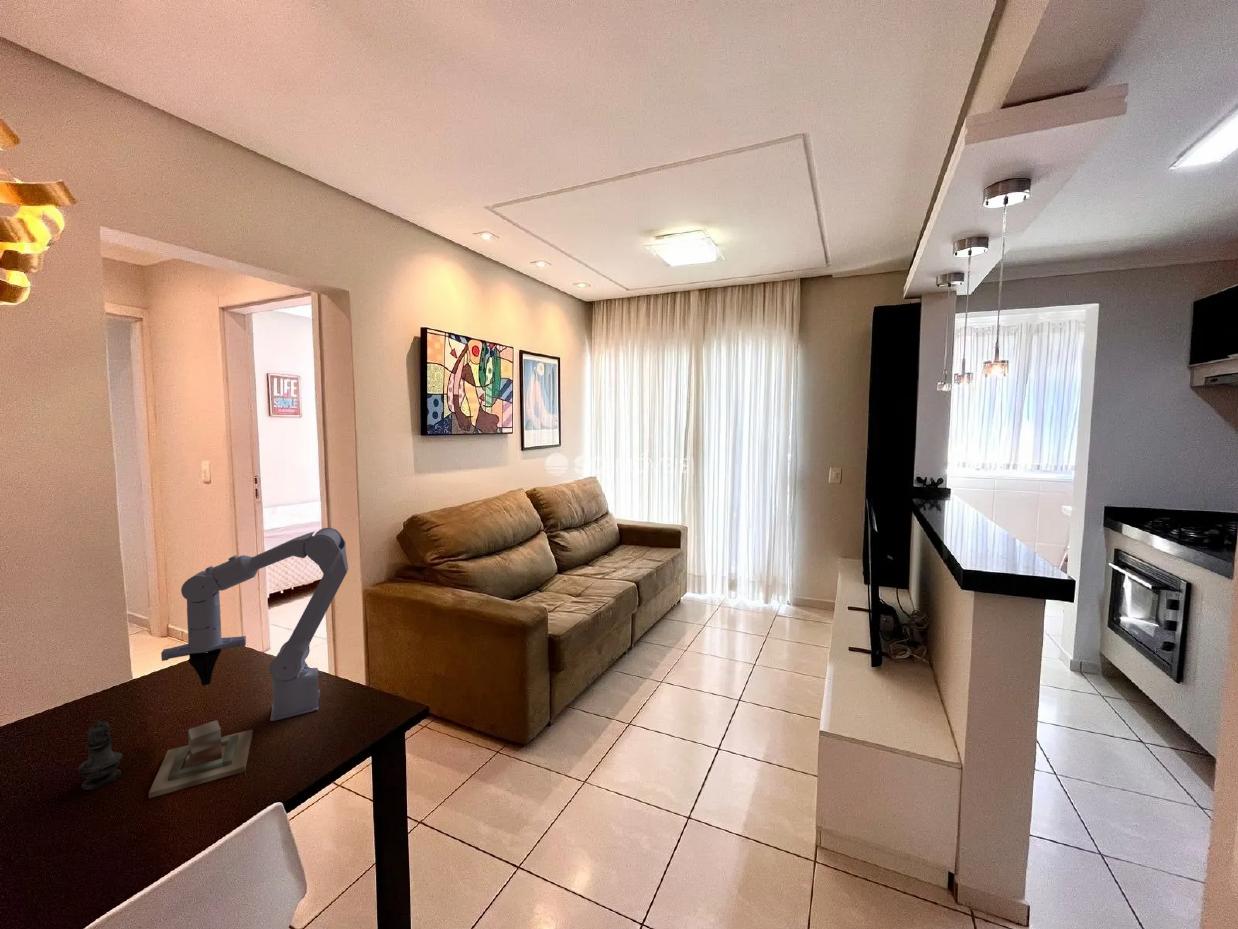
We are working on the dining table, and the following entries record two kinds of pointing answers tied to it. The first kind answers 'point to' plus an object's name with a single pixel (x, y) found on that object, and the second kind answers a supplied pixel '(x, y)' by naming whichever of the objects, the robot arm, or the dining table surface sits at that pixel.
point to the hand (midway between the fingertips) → (206, 683)
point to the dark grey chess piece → (99, 758)
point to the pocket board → (201, 765)
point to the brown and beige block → (205, 743)
